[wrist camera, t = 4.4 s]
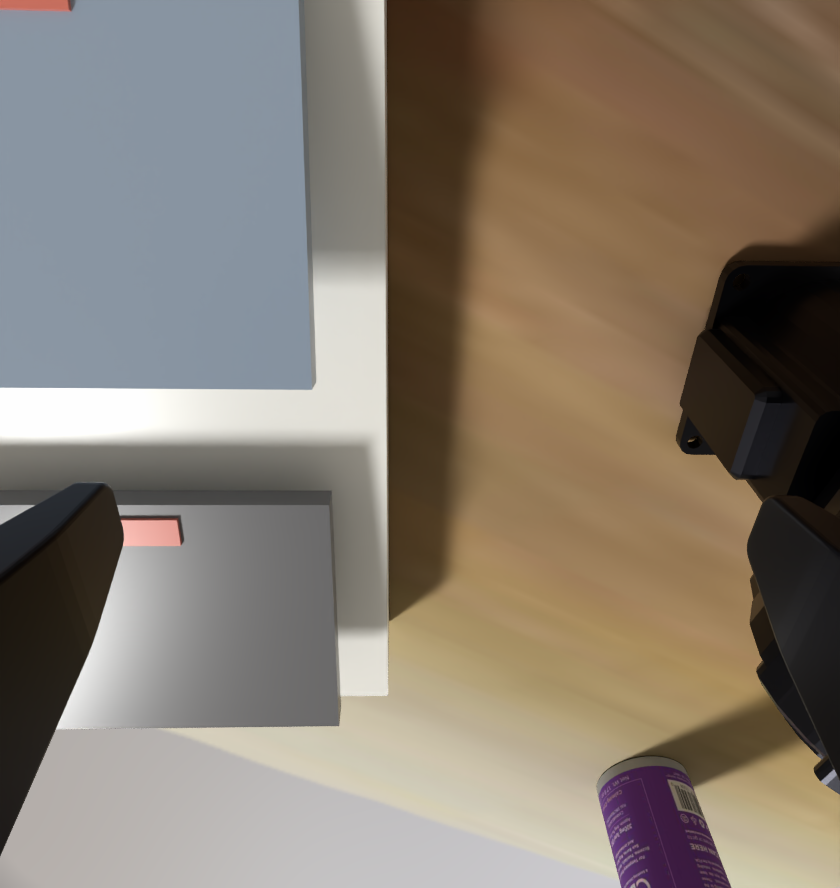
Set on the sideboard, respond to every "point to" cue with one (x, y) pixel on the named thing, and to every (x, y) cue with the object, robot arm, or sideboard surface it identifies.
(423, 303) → the sideboard surface
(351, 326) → the white long base
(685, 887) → the container
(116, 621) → the rocker charcoal
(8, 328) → the plate
